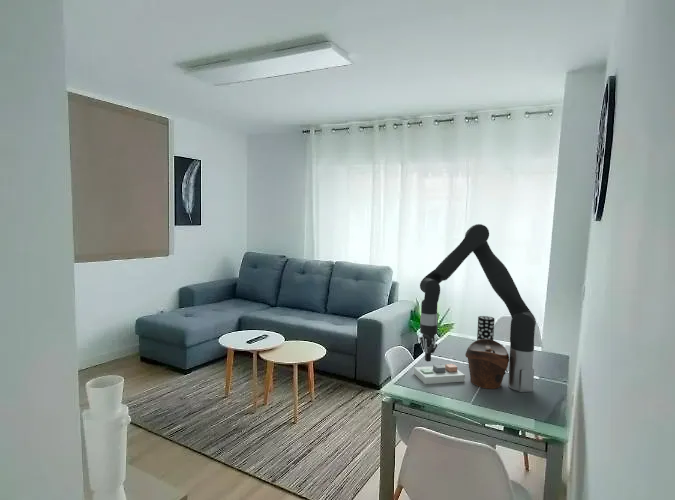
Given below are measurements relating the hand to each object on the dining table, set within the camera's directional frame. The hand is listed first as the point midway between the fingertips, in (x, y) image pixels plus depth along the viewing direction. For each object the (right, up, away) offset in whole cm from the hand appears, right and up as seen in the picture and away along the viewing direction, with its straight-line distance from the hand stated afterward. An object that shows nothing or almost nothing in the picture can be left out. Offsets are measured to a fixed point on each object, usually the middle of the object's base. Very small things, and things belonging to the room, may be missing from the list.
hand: (427, 360), depth 176 cm
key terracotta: (+11, -5, +4) cm, 13 cm away
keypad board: (+6, -8, +3) cm, 10 cm away
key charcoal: (+6, -5, +2) cm, 8 cm away
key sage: (0, -7, +1) cm, 7 cm away
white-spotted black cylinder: (+40, -7, +38) cm, 55 cm away
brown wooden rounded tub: (+25, -9, -3) cm, 27 cm away
